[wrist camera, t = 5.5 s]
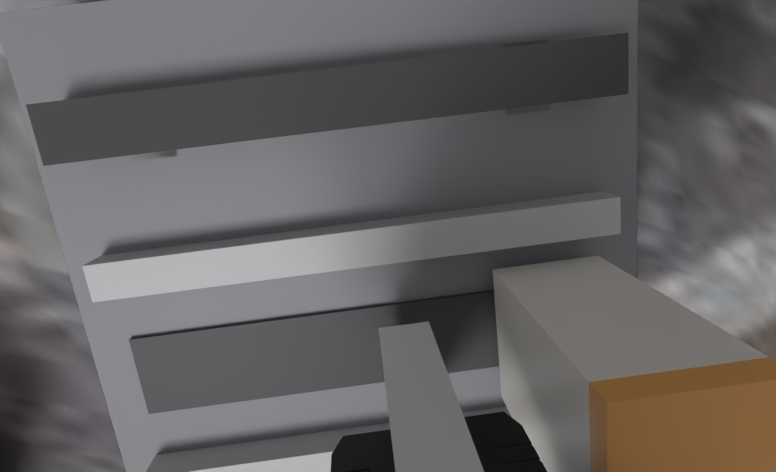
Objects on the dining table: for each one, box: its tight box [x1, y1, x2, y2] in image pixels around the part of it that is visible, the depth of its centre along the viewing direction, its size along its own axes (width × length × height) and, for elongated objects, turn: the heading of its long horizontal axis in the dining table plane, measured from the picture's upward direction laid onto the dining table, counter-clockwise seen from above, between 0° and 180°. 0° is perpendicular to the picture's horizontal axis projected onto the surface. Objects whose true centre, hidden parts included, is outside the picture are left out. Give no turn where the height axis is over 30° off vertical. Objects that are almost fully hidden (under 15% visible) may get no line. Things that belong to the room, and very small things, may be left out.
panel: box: [0, 0, 638, 472], centre depth 16 cm, size 20×16×4 cm
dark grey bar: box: [26, 33, 628, 166], centre depth 14 cm, size 2×14×4 cm, turn 97°
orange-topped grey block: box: [493, 256, 776, 472], centre depth 11 cm, size 4×3×7 cm
